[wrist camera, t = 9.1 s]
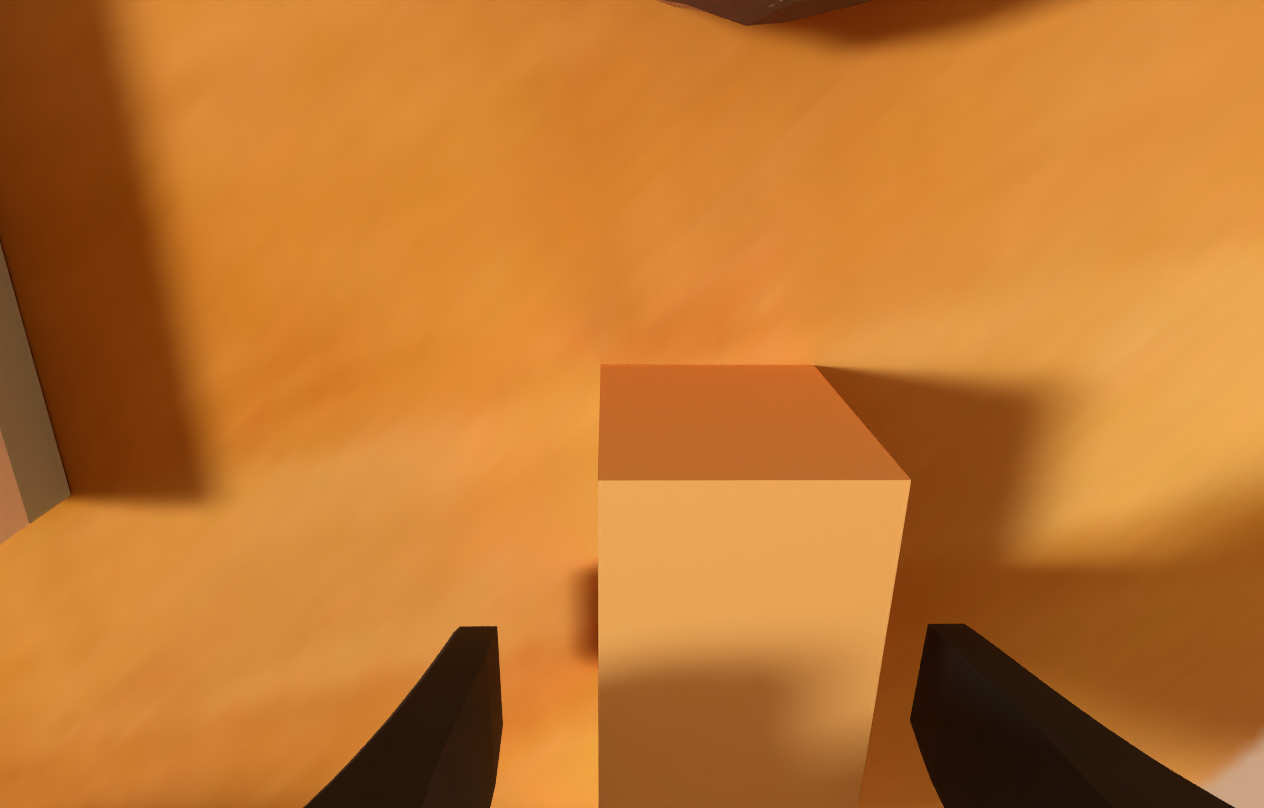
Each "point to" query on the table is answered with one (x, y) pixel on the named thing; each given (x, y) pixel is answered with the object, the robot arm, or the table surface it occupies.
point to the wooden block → (739, 587)
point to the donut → (763, 9)
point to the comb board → (23, 427)
